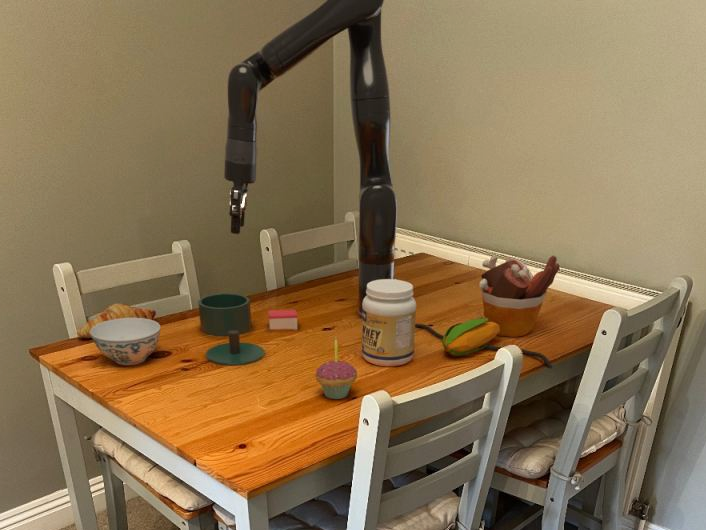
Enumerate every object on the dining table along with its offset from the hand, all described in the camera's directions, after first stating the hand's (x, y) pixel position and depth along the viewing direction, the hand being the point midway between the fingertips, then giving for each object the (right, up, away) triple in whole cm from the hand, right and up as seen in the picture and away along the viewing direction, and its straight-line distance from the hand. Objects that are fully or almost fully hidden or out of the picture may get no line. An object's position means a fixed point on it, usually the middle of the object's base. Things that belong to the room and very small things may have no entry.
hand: (237, 229), depth 186 cm
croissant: (-30, -26, 0) cm, 39 cm away
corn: (+58, -32, -8) cm, 66 cm away
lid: (+2, -34, -14) cm, 37 cm away
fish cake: (+11, -24, +3) cm, 27 cm away
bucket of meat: (+69, -25, +4) cm, 74 cm away
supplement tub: (+37, -35, -13) cm, 53 cm away
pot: (-3, -25, +1) cm, 25 cm away
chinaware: (-21, -37, -17) cm, 46 cm away
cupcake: (+26, -47, -31) cm, 62 cm away
